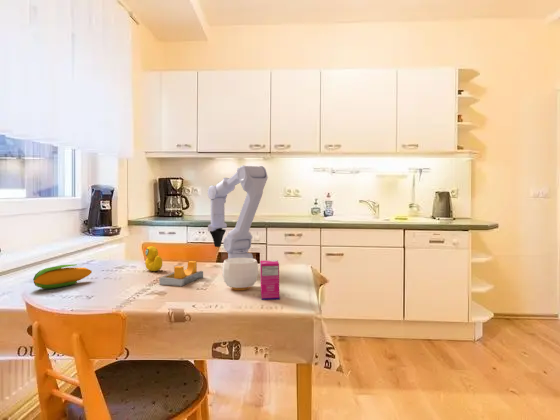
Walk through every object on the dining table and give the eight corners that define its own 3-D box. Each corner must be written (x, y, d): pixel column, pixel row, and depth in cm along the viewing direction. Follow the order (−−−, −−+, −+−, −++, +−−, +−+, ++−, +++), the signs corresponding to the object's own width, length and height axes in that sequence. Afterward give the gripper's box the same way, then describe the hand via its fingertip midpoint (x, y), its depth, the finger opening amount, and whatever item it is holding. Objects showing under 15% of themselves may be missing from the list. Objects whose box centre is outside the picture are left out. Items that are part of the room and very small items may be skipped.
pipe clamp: (186, 277, 159) (186, 260, 159) (196, 278, 158) (196, 261, 157) (170, 284, 147) (169, 266, 147) (181, 285, 146) (180, 267, 146)
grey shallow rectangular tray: (203, 277, 159) (203, 271, 158) (184, 286, 144) (184, 279, 144) (178, 275, 162) (178, 269, 161) (156, 284, 147) (156, 277, 147)
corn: (28, 267, 138) (85, 258, 155) (28, 289, 139) (85, 278, 156) (39, 271, 134) (96, 262, 151) (38, 294, 135) (96, 282, 151)
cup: (255, 283, 149) (255, 256, 149) (261, 292, 137) (261, 263, 137) (221, 285, 147) (220, 258, 146) (223, 294, 135) (223, 264, 134)
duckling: (139, 269, 172) (139, 245, 172) (151, 267, 176) (151, 244, 176) (154, 273, 165) (153, 248, 164) (166, 271, 169) (165, 247, 168)
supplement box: (260, 295, 133) (260, 259, 133) (278, 294, 134) (278, 259, 133) (260, 300, 128) (260, 263, 127) (279, 299, 128) (280, 263, 127)
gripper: (216, 213, 181) (216, 243, 182) (201, 215, 167) (201, 248, 168) (231, 213, 179) (231, 244, 180) (217, 215, 165) (217, 249, 166)
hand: (217, 246), depth 174 cm, fingers closed
